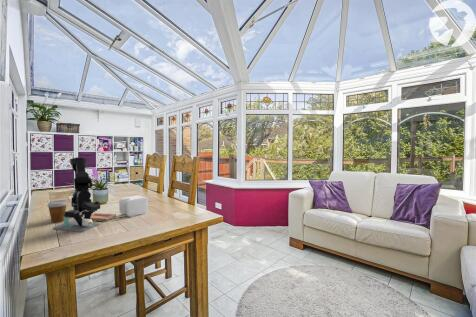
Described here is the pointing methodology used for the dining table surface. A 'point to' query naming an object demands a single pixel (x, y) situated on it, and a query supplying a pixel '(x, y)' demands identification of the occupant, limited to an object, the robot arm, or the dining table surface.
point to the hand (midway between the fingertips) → (83, 225)
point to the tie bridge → (66, 221)
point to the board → (75, 227)
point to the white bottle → (83, 222)
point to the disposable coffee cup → (57, 210)
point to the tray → (102, 217)
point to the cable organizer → (133, 205)
